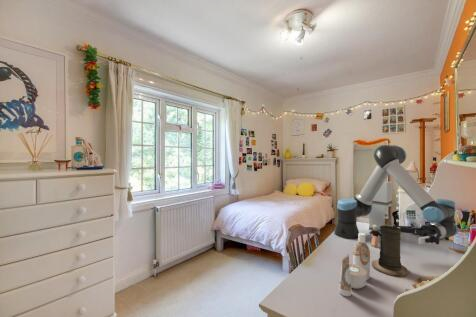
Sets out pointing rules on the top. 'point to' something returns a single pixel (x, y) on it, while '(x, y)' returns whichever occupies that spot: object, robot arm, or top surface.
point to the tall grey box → (381, 206)
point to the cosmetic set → (355, 268)
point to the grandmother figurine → (375, 236)
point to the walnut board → (389, 272)
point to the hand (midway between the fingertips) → (404, 235)
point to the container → (390, 248)
